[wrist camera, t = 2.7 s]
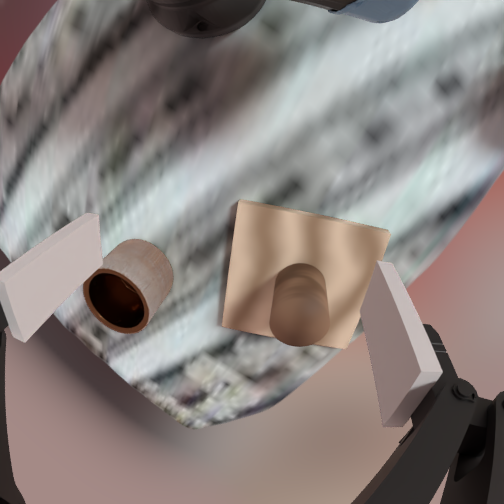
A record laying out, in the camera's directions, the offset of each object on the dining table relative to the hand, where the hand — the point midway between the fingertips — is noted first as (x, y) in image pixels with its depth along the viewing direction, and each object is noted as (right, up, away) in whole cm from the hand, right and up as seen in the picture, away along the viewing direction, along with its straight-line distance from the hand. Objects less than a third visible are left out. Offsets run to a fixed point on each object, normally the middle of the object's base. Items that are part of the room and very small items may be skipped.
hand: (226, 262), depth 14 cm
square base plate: (+8, -4, +30) cm, 31 cm away
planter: (-16, -2, +34) cm, 37 cm away
